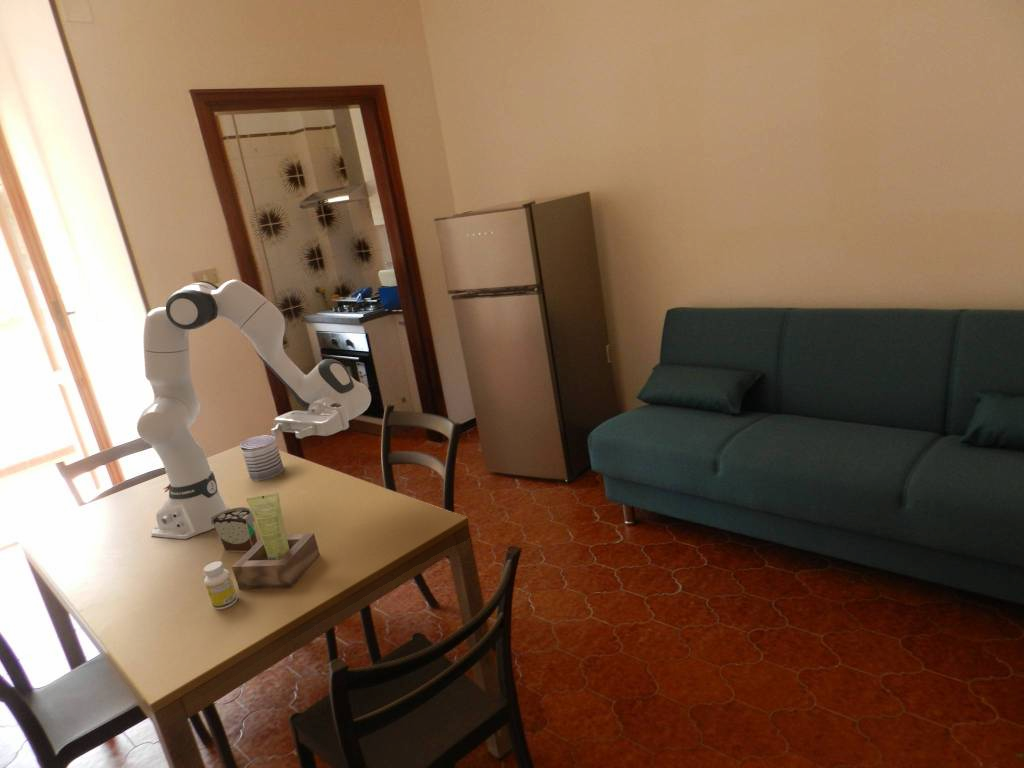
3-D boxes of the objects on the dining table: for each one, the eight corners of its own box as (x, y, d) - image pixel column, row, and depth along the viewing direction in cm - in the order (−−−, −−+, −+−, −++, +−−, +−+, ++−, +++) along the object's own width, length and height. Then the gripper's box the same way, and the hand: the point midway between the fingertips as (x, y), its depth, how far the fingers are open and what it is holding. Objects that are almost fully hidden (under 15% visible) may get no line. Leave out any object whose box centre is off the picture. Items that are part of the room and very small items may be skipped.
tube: (289, 559, 173) (268, 488, 167) (299, 565, 169) (278, 492, 163) (268, 571, 169) (245, 498, 163) (278, 577, 165) (255, 502, 160)
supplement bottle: (217, 598, 163) (205, 561, 160) (241, 594, 163) (228, 557, 160) (210, 612, 158) (196, 574, 155) (234, 607, 158) (221, 569, 155)
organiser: (239, 589, 165) (231, 566, 163) (270, 556, 178) (264, 535, 176) (291, 587, 162) (284, 565, 160) (320, 554, 174) (314, 533, 173)
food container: (273, 539, 187) (262, 506, 184) (258, 552, 182) (247, 517, 179) (236, 539, 191) (225, 506, 189) (220, 551, 186) (209, 517, 183)
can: (265, 465, 243) (256, 433, 240) (291, 466, 238) (282, 433, 235) (242, 480, 233) (231, 447, 230) (268, 481, 229) (258, 447, 225)
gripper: (295, 402, 195) (255, 420, 184) (348, 406, 185) (309, 425, 174) (300, 423, 197) (261, 442, 186) (353, 428, 186) (314, 448, 175)
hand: (284, 434), depth 180 cm, fingers open, 8 cm apart
